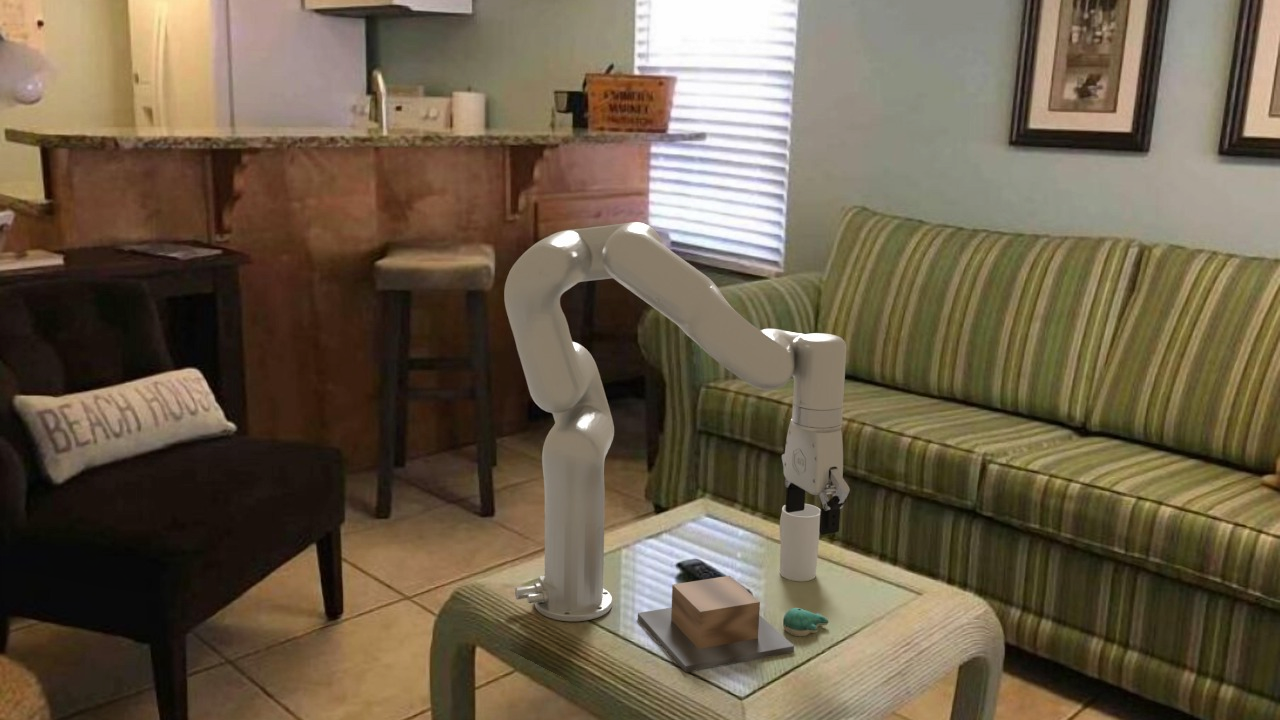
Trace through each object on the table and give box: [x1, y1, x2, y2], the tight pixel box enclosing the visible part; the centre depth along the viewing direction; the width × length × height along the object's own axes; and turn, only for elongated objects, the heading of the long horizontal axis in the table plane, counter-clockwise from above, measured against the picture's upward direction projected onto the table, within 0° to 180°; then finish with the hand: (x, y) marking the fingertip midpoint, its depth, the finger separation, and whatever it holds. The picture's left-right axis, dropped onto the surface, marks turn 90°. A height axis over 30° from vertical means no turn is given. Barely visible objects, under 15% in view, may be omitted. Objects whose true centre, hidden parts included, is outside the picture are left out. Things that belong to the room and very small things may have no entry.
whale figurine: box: [782, 607, 829, 637], centre depth 174 cm, size 6×7×4 cm
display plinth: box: [637, 575, 795, 673], centre depth 171 cm, size 18×18×7 cm
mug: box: [779, 503, 821, 582], centre depth 195 cm, size 10×7×12 cm, turn 22°
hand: (811, 521), depth 172 cm, fingers open, 9 cm apart
